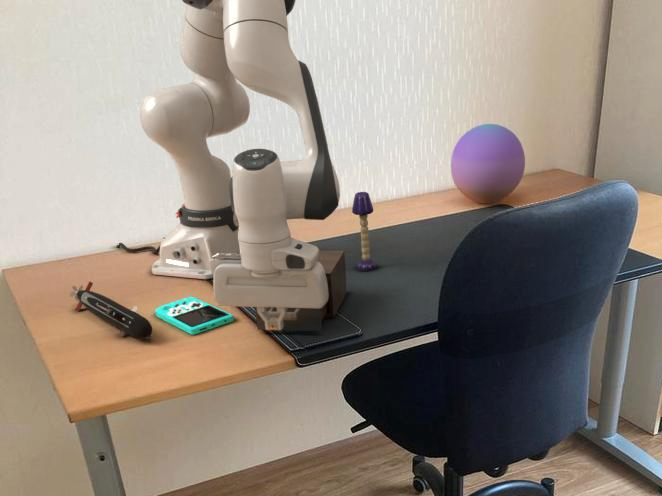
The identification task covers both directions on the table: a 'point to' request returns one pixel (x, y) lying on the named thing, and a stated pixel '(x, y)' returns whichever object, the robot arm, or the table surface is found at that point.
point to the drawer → (297, 318)
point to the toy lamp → (364, 228)
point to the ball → (487, 163)
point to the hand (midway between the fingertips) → (274, 328)
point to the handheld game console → (193, 315)
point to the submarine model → (113, 312)
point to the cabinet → (334, 278)
